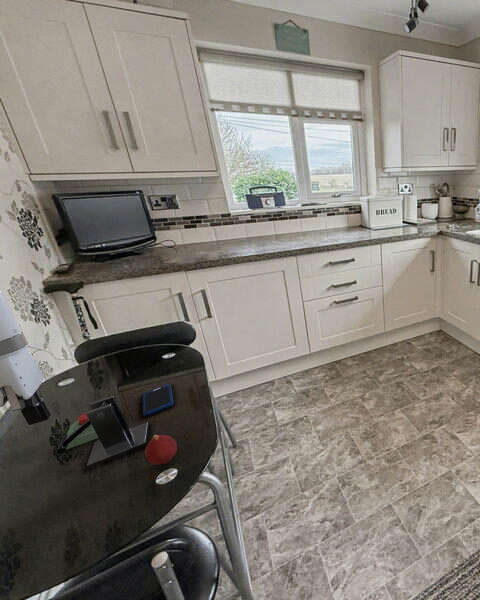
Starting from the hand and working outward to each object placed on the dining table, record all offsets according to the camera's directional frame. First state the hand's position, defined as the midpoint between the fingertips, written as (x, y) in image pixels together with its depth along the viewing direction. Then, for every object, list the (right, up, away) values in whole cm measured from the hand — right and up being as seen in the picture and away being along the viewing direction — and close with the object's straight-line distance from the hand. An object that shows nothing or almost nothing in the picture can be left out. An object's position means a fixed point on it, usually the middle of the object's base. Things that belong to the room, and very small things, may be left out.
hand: (40, 420), depth 72 cm
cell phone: (+6, -4, +26) cm, 27 cm away
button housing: (-3, -9, +16) cm, 18 cm away
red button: (-3, -5, +14) cm, 16 cm away
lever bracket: (+10, -10, +9) cm, 17 cm away
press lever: (+6, -4, +5) cm, 9 cm away
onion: (+26, -11, +3) cm, 28 cm away
